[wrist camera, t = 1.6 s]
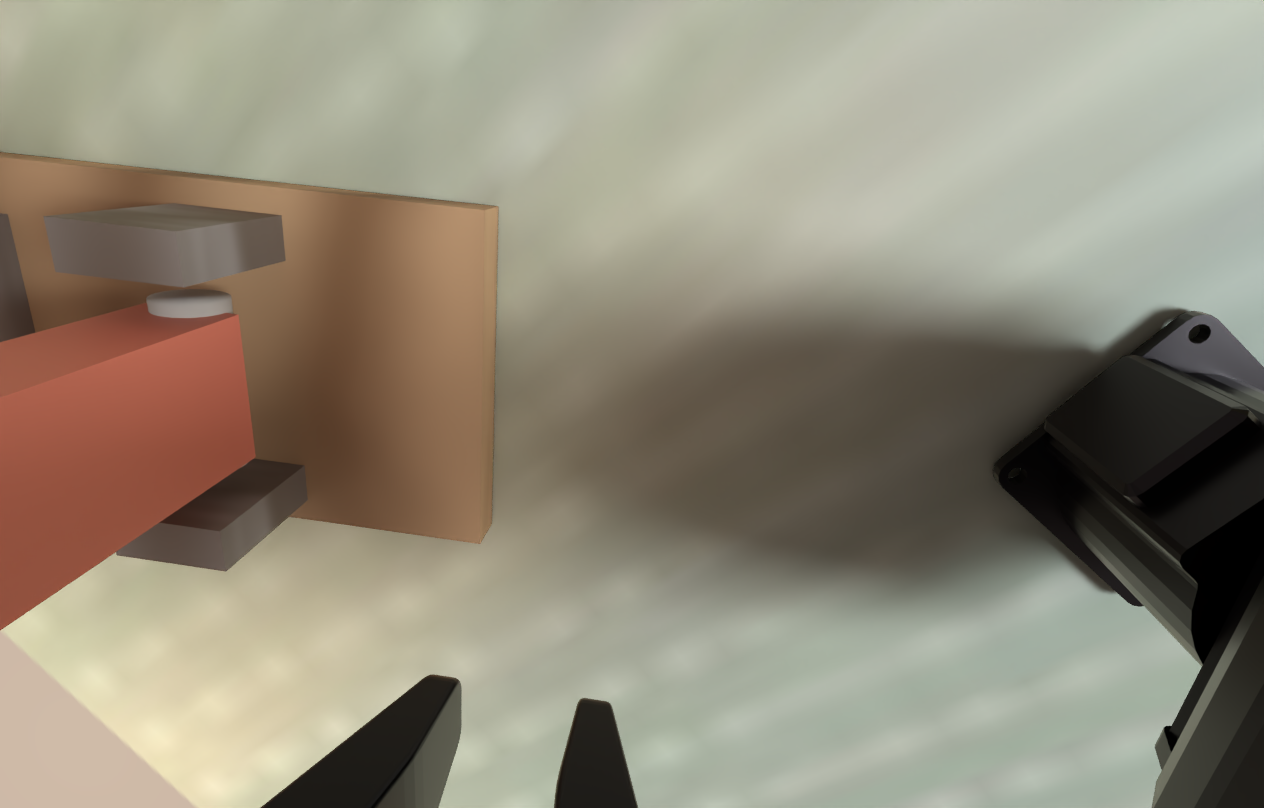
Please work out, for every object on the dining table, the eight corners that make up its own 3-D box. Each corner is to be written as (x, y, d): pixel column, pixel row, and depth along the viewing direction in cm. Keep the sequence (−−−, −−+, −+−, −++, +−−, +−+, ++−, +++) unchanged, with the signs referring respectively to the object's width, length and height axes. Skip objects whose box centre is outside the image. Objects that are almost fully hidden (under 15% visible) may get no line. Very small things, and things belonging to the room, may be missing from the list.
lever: (263, 284, 18) (-571, 538, 6) (282, 463, 19) (-330, 912, 8) (162, 272, 18) (-833, 496, 6) (190, 450, 20) (-537, 872, 8)
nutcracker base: (498, 206, 18) (426, 225, 14) (491, 523, 22) (433, 624, 17) (-172, 133, 20) (-448, 127, 15) (-75, 444, 23) (-271, 518, 19)
